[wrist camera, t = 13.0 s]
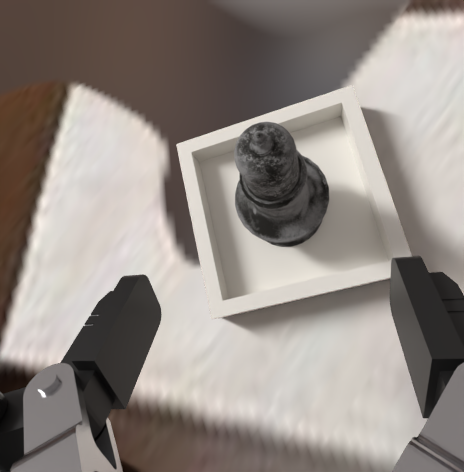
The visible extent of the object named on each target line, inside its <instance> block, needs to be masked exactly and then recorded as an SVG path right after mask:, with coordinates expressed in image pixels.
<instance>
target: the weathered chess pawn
mask: <svg viewBox="0 0 464 472" xmlns="http://www.w3.org/2000/svg"><path fill="white" fill-rule="evenodd" d="M234 160H235V163H236V167H237V169H238V170H239V172H240V173H239V181H238V184H237V188H236V192H235V207H236V211H237V214H238V217H239V219H240V220H241V222H242V224H243V225H244V227H245V228H247V229H248V230H249V231H250V232H251V233H252V234H253V235H255V236H257V237H258V238H260V239H262V240H265V241H266V242H268V243H270V244H272V245H276V246H280V247H292V246H295V245H299V244H302V243H303V242H305V241H307V240H308V239H310V238H311V237H312V236H313V235H314V234H315V233H316V232H317V230H318V228H319V227H320V225H321V223H322V219H323V217H324V215H325V214H326V212H327V207H328V203H329V186H328V183H327V180H326V177H325V175H324V174H323V172H322V171H321V169H320V168H319V167H318V165H316V164H315V163H314V162H313V161H311V160H310V159H309V158H307V157H304V156H302V155H301V154H300V152H299V151H297V150H296V145H295V142H294V139H293V138H292V136H291V135H290V133H289V132H288V131H287V130H286V129H285V128H284V127H283V126H281V125H279V124H277V123H273V122H259V123H257V124H254V125H252V126H250V127H249V128H247V129H246V130H245V131H244V132H243V133H242V134H241V135H240V137H239V138H238V140H237V142H236V145H235V149H234Z"/></svg>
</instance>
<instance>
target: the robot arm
mask: <svg viewBox="0 0 464 472" xmlns="http://www.w3.org/2000/svg"><path fill="white" fill-rule="evenodd" d="M390 306H391V312H392V316H393V320H394V323H395V326H396V330H397V333H398V336H399V340H400V343H401V346H402V350H403V353H404V356H405V360H406V363H407V366H408V370H409V373H410V376H411V380H412V383H413V386H414V390H415V393H416V396H417V400H418V403H419V406H420V410H421V413H422V416H423V418H429V419H428V420H427V422H426V424H425V426H424V428H423V429H422V431H421V433H420V434H419V436H418V437H417V438H416V437H414V438H412V439H411V441H410V442H409V443H408V445H407V446H406V448H405V450H404V451H403V453H402V455H401V457H400V459H399V460H398V462H397V464H396V466H395V467H394V469H393V471H392V472H464V295H463V293H462V292H461V290H460V288H459V286H458V284H457V283H455V282H454V281H453V280H452V279H450V278H449V277H448V276H447V275H445V274H444V273H443V272H436V273H429V272H428V270H427V268H426V266H425V264H424V262H423V260H422V258H421V257H420V256H411V257H397V258H392V260H391V277H390ZM160 321H161V308H160V304H159V302H158V300H157V297H156V295H155V293H154V291H153V288H152V286H151V284H150V281H149V279H148V277H147V276H146V275H131V276H123V277H122V278H121V279H120V281H119V282H118V284H117V286H116V287H115V289H114V291H110V292H109V293H108V294H107V295H106V296H105V297H103V298H102V299H101V300H100V301H99V302H98V304H97V305H96V307H95V308H94V310H93V312H92V313H91V316H89V318H88V320H87V321H86V323H85V326H83V328H82V329H81V331H80V332H79V334H78V336H77V337H76V339H75V340H74V342H73V344H72V345H71V347H70V348H69V350H68V352H67V353H66V355H65V356H64V358H63V360H62V361H61V363H58V364H54V365H51V366H49V367H47V368H45V369H43V370H42V371H41V372H39V373H38V374H37V375H36V376H35V377H34V378H33V379H32V380H31V381H30V382H29V384H28V385H27V387H25V388H21V389H18V390H15V391H11V392H8V393H5V394H2V393H1V392H0V472H123V470H122V466H121V462H120V458H119V455H118V451H117V447H116V443H115V439H114V435H113V431H112V427H111V423H110V421H109V419H108V415H109V413H110V411H111V409H126V407H127V404H128V402H129V399H130V397H131V394H132V392H133V389H134V387H135V384H136V382H137V379H138V377H139V374H140V372H141V369H142V367H143V364H144V362H145V360H146V357H147V355H148V352H149V350H150V347H151V345H152V342H153V340H154V337H155V335H156V332H157V330H158V327H159V325H160Z"/></svg>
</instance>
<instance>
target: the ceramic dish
mask: <svg viewBox="0 0 464 472" xmlns="http://www.w3.org/2000/svg"><path fill="white" fill-rule="evenodd" d="M259 122H273V123H277V124H279V125H281V126H283V127H284V128H285V129H286V130H287V131H288V132H289V133H290V135H291V136H292V138H293V139H294V142H295V145H296V150H297V151H299V152H300V154H301V155H302V156H304V157H307V158H309V159H310V160H311V161H313V162H314V163H315V164H316V165H318V167H319V168H320V169H321V171H322V172H323V174H324V175H325V177H326V180H327V183H328V186H329V203H328V207H327V212H326V214H325V215H324V217H323V219H322V223H321V225H320V227H319V228H318V230H317V232H316V233H315V234H314V235H313V236H312V237H311V238H310V239H308V240H307V241H305V242H303V243H302V244H299V245H295V246H292V247H280V246H276V245H272V244H270V243H268V242H266V241H265V240H262V239H260V238H258V237H257V236H255V235H253V234H252V233H251V232H250V231H249V230H248V229H247V228H245V227H244V225H243V224H242V222H241V220H240V219H239V217H238V214H237V211H236V207H235V192H236V188H237V184H238V181H239V173H240V172H239V170H238V169H237V167H236V163H235V160H234V149H235V145H236V142H237V140H238V138H239V137H240V135H241V134H242V133H243V132H244V131H245V130H246V129H247V128H249V127H250V126H252V125H254V124H257V123H259ZM176 145H177V150H178V155H179V160H180V165H181V170H182V175H183V180H184V185H185V190H186V195H187V200H188V205H189V210H190V215H191V220H192V224H193V230H194V235H195V240H196V245H197V250H198V255H199V260H200V265H201V270H202V275H203V280H204V285H205V290H206V295H207V300H208V305H209V310H210V315H211V319H217V318H223V317H228V316H232V315H236V314H241V313H245V312H249V311H253V310H258V309H262V308H266V307H271V306H275V305H279V304H284V303H288V302H292V301H297V300H301V299H305V298H310V297H314V296H318V295H322V294H327V293H331V292H335V291H340V290H344V289H348V288H353V287H357V286H361V285H366V284H370V283H374V282H379V281H383V280H387V279H390V277H391V260H392V258H397V257H411V256H412V254H411V251H410V248H409V245H408V243H407V240H406V237H405V234H404V231H403V228H402V225H401V222H400V220H399V217H398V214H397V211H396V208H395V205H394V202H393V200H392V197H391V194H390V191H389V188H388V185H387V182H386V179H385V177H384V174H383V171H382V168H381V165H380V162H379V159H378V156H377V154H376V151H375V148H374V145H373V142H372V139H371V136H370V133H369V131H368V128H367V125H366V122H365V119H364V116H363V113H362V110H361V108H360V105H359V102H358V99H357V96H356V93H355V90H354V87H353V85H351V86H348V87H345V88H342V89H339V90H336V91H333V92H330V93H328V94H324V95H321V96H318V97H315V98H312V99H309V100H306V101H303V102H300V103H298V104H294V105H291V106H289V107H285V108H282V109H280V110H276V111H274V112H271V113H268V114H265V115H262V116H259V117H256V118H253V119H250V120H247V121H244V122H241V123H238V124H235V125H232V126H229V127H226V128H223V129H220V130H217V131H214V132H211V133H208V134H206V135H202V136H200V137H196V138H194V139H190V140H188V141H185V142H182V143H179V144H176Z"/></svg>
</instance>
